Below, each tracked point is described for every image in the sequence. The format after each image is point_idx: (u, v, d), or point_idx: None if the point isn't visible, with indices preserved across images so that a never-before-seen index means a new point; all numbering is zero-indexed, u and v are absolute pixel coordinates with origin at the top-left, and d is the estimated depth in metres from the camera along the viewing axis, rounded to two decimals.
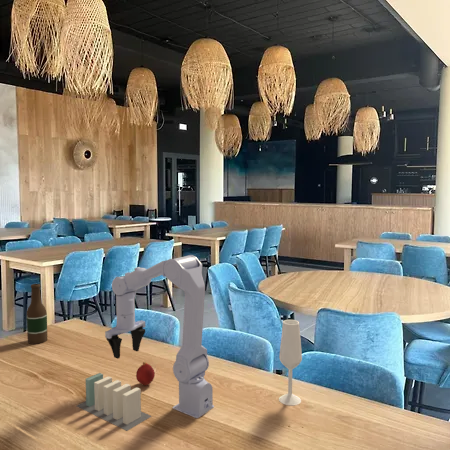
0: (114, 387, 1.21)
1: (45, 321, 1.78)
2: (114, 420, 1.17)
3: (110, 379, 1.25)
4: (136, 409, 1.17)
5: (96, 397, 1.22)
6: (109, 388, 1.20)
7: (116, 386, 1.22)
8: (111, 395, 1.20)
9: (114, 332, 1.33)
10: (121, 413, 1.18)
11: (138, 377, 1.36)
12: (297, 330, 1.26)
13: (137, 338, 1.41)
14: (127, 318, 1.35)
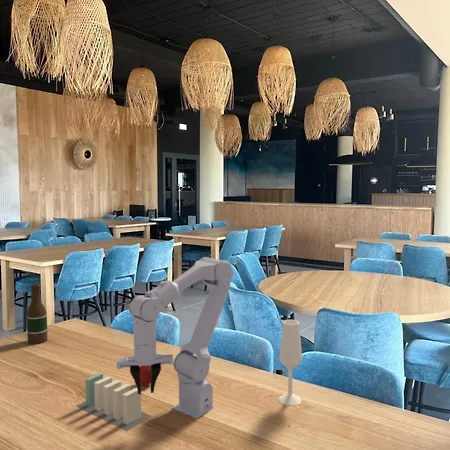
0: (114, 387, 1.21)
1: (45, 321, 1.78)
2: (114, 420, 1.17)
3: (110, 379, 1.25)
4: (136, 409, 1.17)
5: (96, 397, 1.22)
6: (109, 388, 1.20)
7: (116, 386, 1.22)
8: (111, 395, 1.20)
9: (124, 363, 1.10)
10: (121, 413, 1.18)
11: None
12: (297, 330, 1.26)
13: (151, 377, 1.12)
14: (140, 349, 1.10)
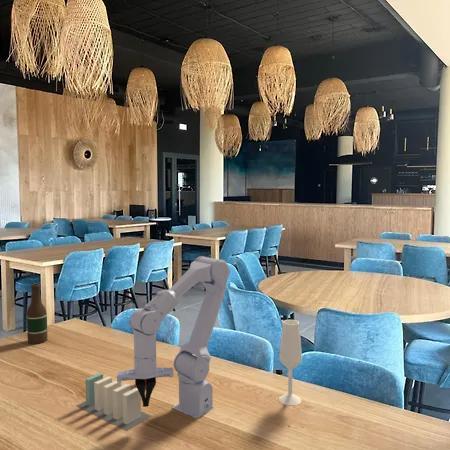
0: (114, 387, 1.21)
1: (45, 321, 1.78)
2: (114, 420, 1.17)
3: (110, 379, 1.25)
4: (136, 409, 1.17)
5: (96, 397, 1.22)
6: (109, 388, 1.20)
7: (116, 386, 1.22)
8: (111, 395, 1.20)
9: (124, 376, 1.10)
10: (121, 413, 1.18)
11: None
12: (297, 330, 1.26)
13: (146, 390, 1.12)
14: (140, 363, 1.10)
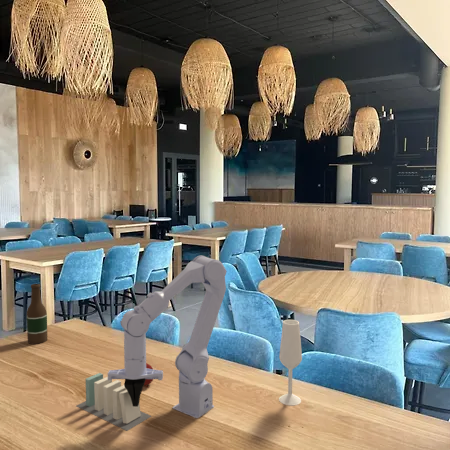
0: (114, 387, 1.21)
1: (45, 321, 1.78)
2: (114, 420, 1.17)
3: None
4: (135, 408, 1.18)
5: (96, 397, 1.22)
6: (109, 388, 1.20)
7: (116, 386, 1.22)
8: (111, 395, 1.20)
9: (114, 374, 1.14)
10: (121, 413, 1.18)
11: None
12: (297, 330, 1.26)
13: None
14: (128, 363, 1.12)
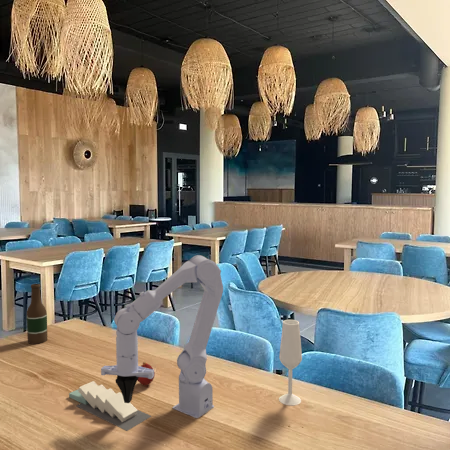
0: (97, 389, 1.26)
1: (45, 321, 1.78)
2: (114, 420, 1.17)
3: (92, 382, 1.30)
4: (126, 406, 1.20)
5: (87, 398, 1.25)
6: (91, 390, 1.25)
7: (99, 388, 1.26)
8: None
9: (106, 370, 1.17)
10: None
11: None
12: (297, 330, 1.26)
13: None
14: (119, 360, 1.15)
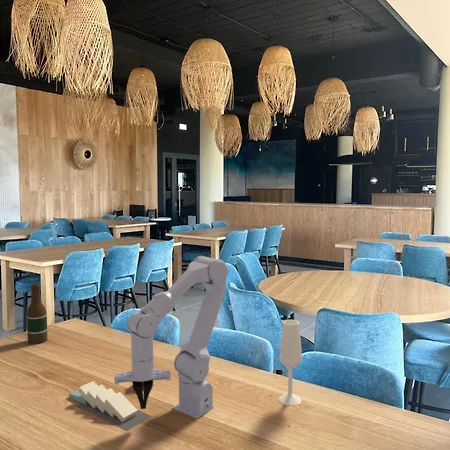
0: (97, 389, 1.26)
1: (45, 321, 1.78)
2: (114, 420, 1.17)
3: (92, 382, 1.30)
4: (126, 406, 1.20)
5: (87, 398, 1.25)
6: (91, 390, 1.25)
7: (99, 388, 1.26)
8: None
9: (121, 378, 1.12)
10: None
11: None
12: (297, 330, 1.26)
13: None
14: (137, 365, 1.11)
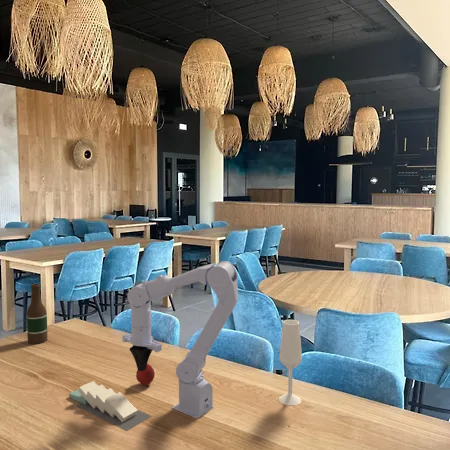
0: (97, 389, 1.26)
1: (45, 321, 1.78)
2: (114, 420, 1.17)
3: (92, 382, 1.30)
4: (126, 406, 1.20)
5: (87, 398, 1.25)
6: (91, 390, 1.25)
7: (99, 388, 1.26)
8: None
9: (125, 338, 1.28)
10: None
11: (138, 377, 1.36)
12: (297, 330, 1.26)
13: None
14: (131, 329, 1.25)
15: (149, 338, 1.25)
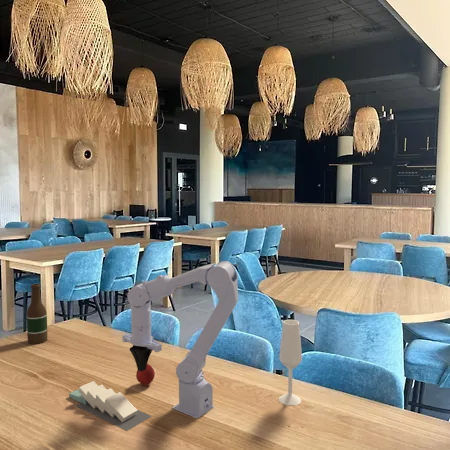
0: (97, 389, 1.26)
1: (45, 321, 1.78)
2: (114, 420, 1.17)
3: (92, 382, 1.30)
4: (126, 406, 1.20)
5: (87, 398, 1.25)
6: (91, 390, 1.25)
7: (99, 388, 1.26)
8: None
9: (125, 338, 1.28)
10: None
11: (138, 377, 1.36)
12: (297, 330, 1.26)
13: None
14: (131, 329, 1.25)
15: (149, 338, 1.25)
